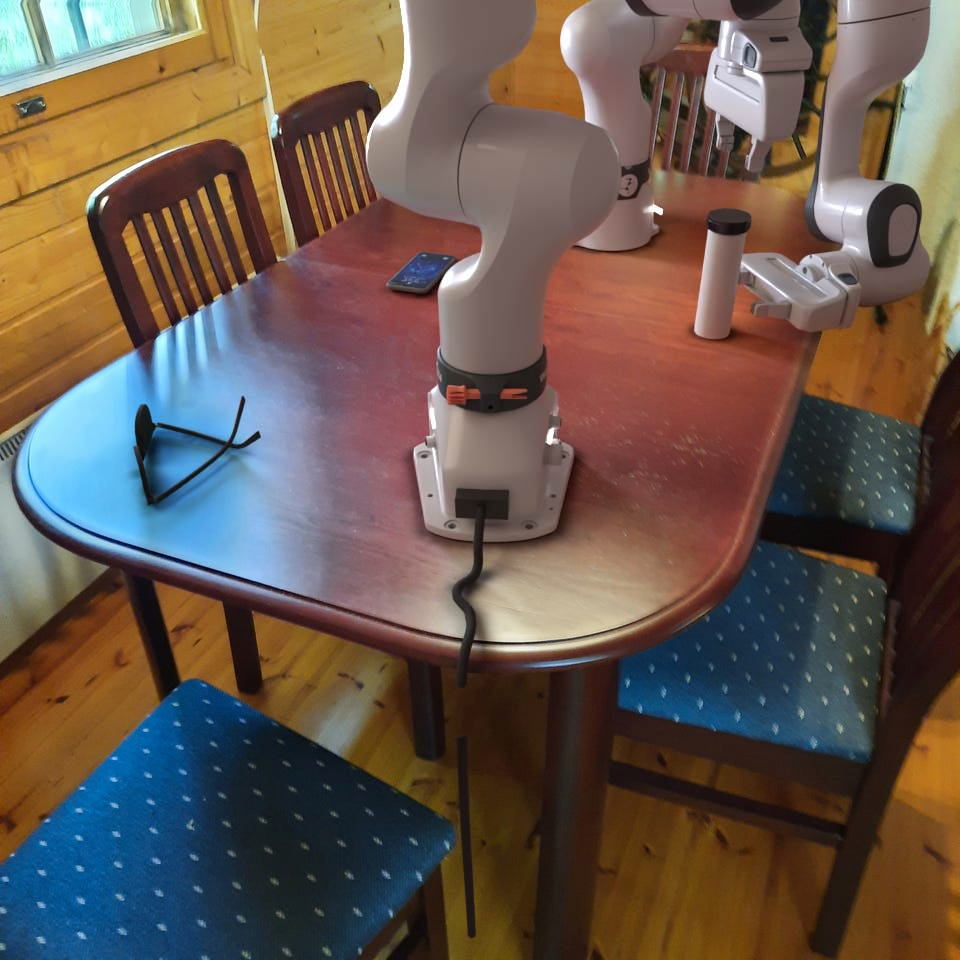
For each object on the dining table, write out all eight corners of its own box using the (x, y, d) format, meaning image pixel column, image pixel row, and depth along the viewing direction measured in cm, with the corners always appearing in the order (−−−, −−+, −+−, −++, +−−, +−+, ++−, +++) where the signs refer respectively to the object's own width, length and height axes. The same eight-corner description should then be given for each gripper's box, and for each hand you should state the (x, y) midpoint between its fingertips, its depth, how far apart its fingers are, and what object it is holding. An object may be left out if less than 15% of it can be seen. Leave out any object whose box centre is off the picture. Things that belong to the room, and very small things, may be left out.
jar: (690, 335, 124) (705, 222, 114) (699, 321, 128) (714, 210, 118) (724, 342, 122) (743, 227, 112) (732, 327, 126) (752, 215, 116)
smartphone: (458, 255, 148) (426, 290, 136) (458, 261, 148) (426, 296, 137) (419, 250, 150) (383, 284, 138) (419, 255, 150) (384, 289, 139)
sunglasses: (270, 486, 97) (262, 449, 94) (137, 510, 94) (125, 474, 91) (257, 411, 110) (250, 377, 107) (140, 430, 107) (130, 396, 104)
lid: (700, 231, 115) (702, 219, 114) (711, 217, 119) (713, 205, 118) (744, 237, 113) (746, 225, 112) (753, 223, 117) (756, 211, 116)
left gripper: (699, 28, 110) (686, 139, 118) (766, 59, 94) (746, 185, 102) (746, 25, 111) (730, 136, 119) (820, 55, 95) (796, 182, 103)
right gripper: (787, 237, 132) (705, 248, 129) (869, 291, 116) (778, 304, 113) (779, 276, 136) (700, 287, 133) (857, 333, 120) (769, 347, 117)
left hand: (738, 159), depth 111 cm, fingers open, 8 cm apart
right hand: (736, 296), depth 123 cm, fingers open, 8 cm apart
